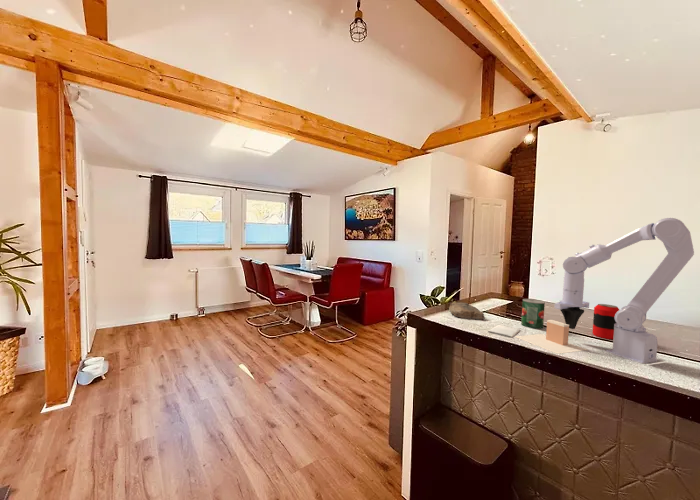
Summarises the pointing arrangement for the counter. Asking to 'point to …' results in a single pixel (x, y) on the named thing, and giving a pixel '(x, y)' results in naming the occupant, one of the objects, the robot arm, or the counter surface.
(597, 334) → the soda can
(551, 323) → the terracotta tile
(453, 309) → the brown rock
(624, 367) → the counter surface
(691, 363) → the counter surface
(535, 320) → the canned tomato
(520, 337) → the felt mat
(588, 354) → the counter surface
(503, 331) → the hard drive
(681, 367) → the counter surface
